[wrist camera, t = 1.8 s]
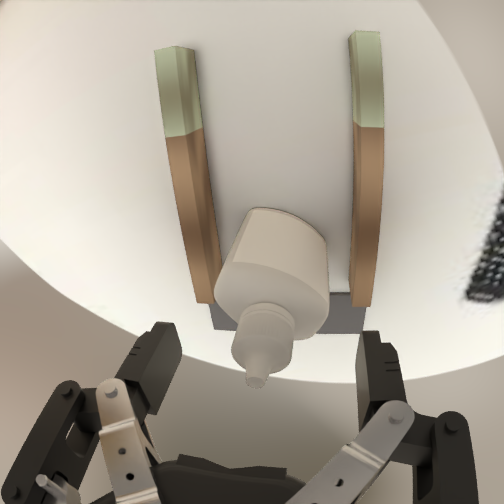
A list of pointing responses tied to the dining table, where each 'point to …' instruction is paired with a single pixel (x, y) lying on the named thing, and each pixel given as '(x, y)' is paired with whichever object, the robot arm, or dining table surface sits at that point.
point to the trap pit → (337, 322)
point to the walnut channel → (197, 175)
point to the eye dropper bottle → (273, 290)
